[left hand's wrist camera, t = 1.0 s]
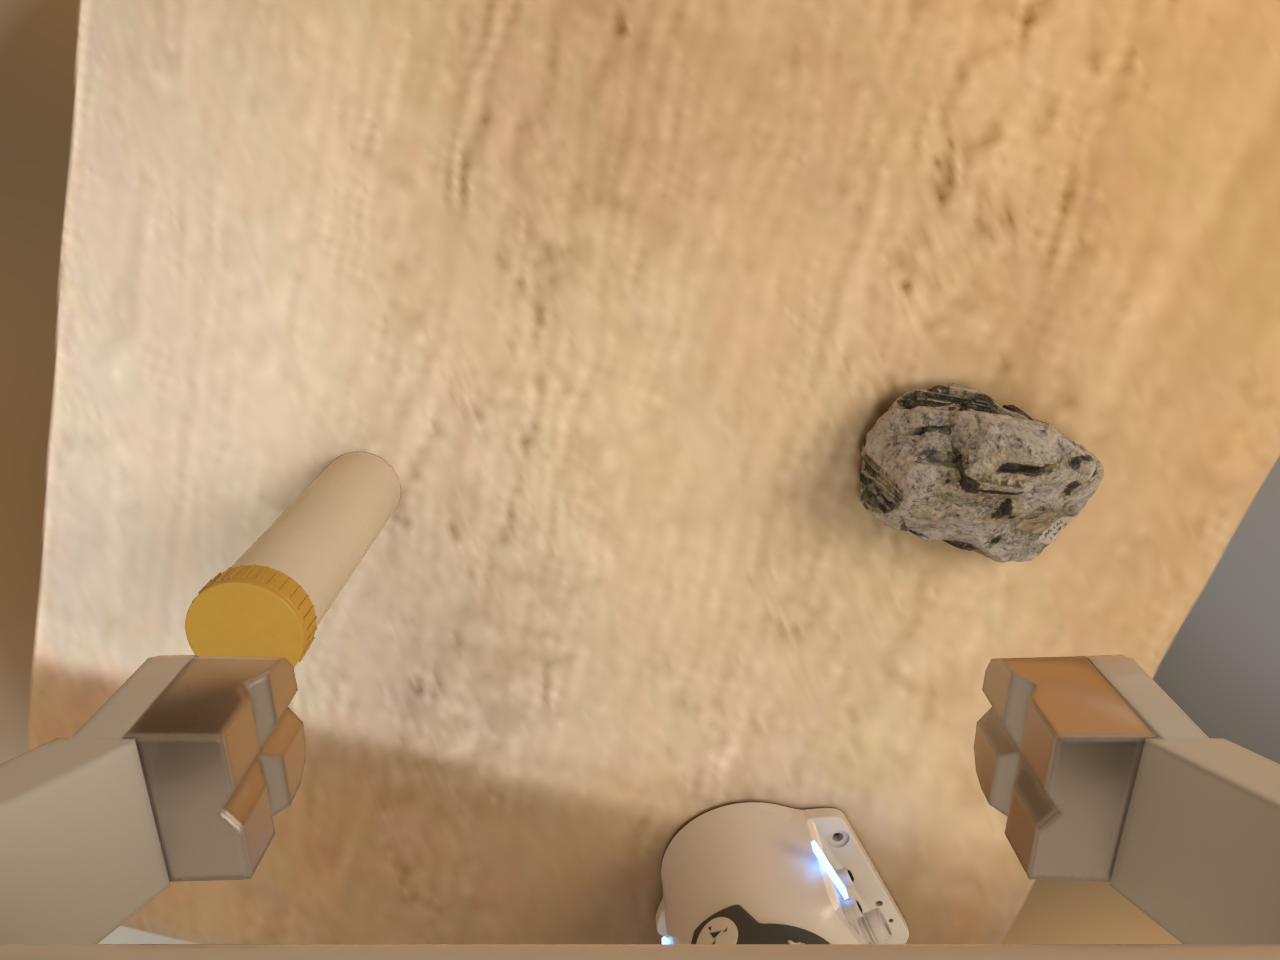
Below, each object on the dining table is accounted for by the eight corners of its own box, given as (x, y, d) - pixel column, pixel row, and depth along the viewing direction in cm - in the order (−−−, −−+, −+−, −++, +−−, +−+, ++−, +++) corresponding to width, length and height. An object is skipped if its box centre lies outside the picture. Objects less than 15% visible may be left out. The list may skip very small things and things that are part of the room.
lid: (301, 679, 46) (287, 701, 44) (190, 641, 45) (171, 662, 43) (331, 587, 44) (319, 606, 42) (216, 546, 43) (198, 563, 41)
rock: (833, 492, 61) (859, 537, 54) (901, 356, 57) (938, 386, 51) (1020, 560, 63) (1067, 611, 56) (1096, 433, 60) (1156, 471, 53)
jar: (387, 533, 62) (286, 690, 44) (315, 506, 62) (183, 654, 44) (410, 468, 60) (315, 604, 43) (335, 439, 60) (207, 566, 42)
